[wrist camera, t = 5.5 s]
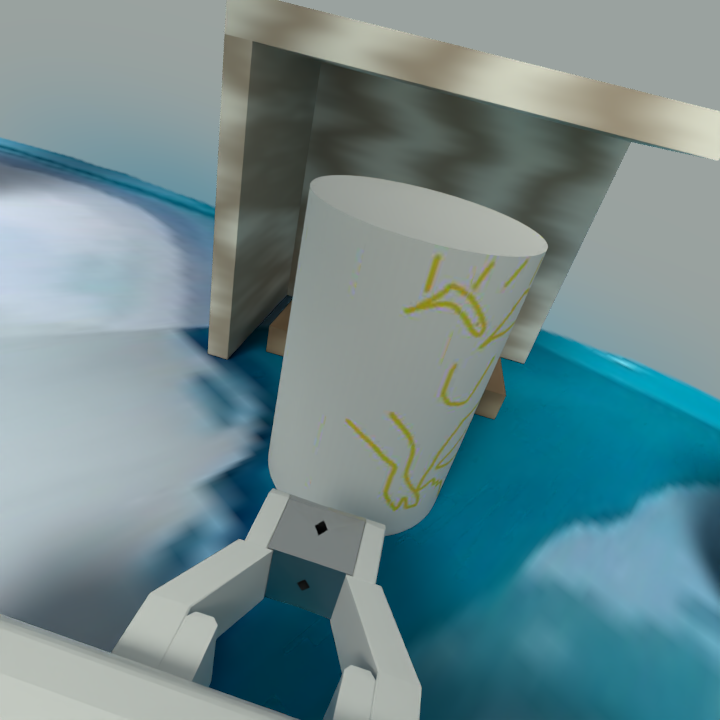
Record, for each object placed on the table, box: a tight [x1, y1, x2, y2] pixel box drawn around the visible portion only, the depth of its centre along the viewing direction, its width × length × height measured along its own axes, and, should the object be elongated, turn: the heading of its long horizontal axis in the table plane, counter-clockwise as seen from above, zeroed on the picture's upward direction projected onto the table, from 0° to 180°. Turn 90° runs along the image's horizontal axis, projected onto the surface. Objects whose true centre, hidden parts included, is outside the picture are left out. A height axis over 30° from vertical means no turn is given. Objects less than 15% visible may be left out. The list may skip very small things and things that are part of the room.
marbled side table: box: [208, 0, 720, 419], centre depth 27 cm, size 20×12×17 cm, turn 79°
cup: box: [268, 175, 548, 536], centre depth 19 cm, size 8×8×12 cm
